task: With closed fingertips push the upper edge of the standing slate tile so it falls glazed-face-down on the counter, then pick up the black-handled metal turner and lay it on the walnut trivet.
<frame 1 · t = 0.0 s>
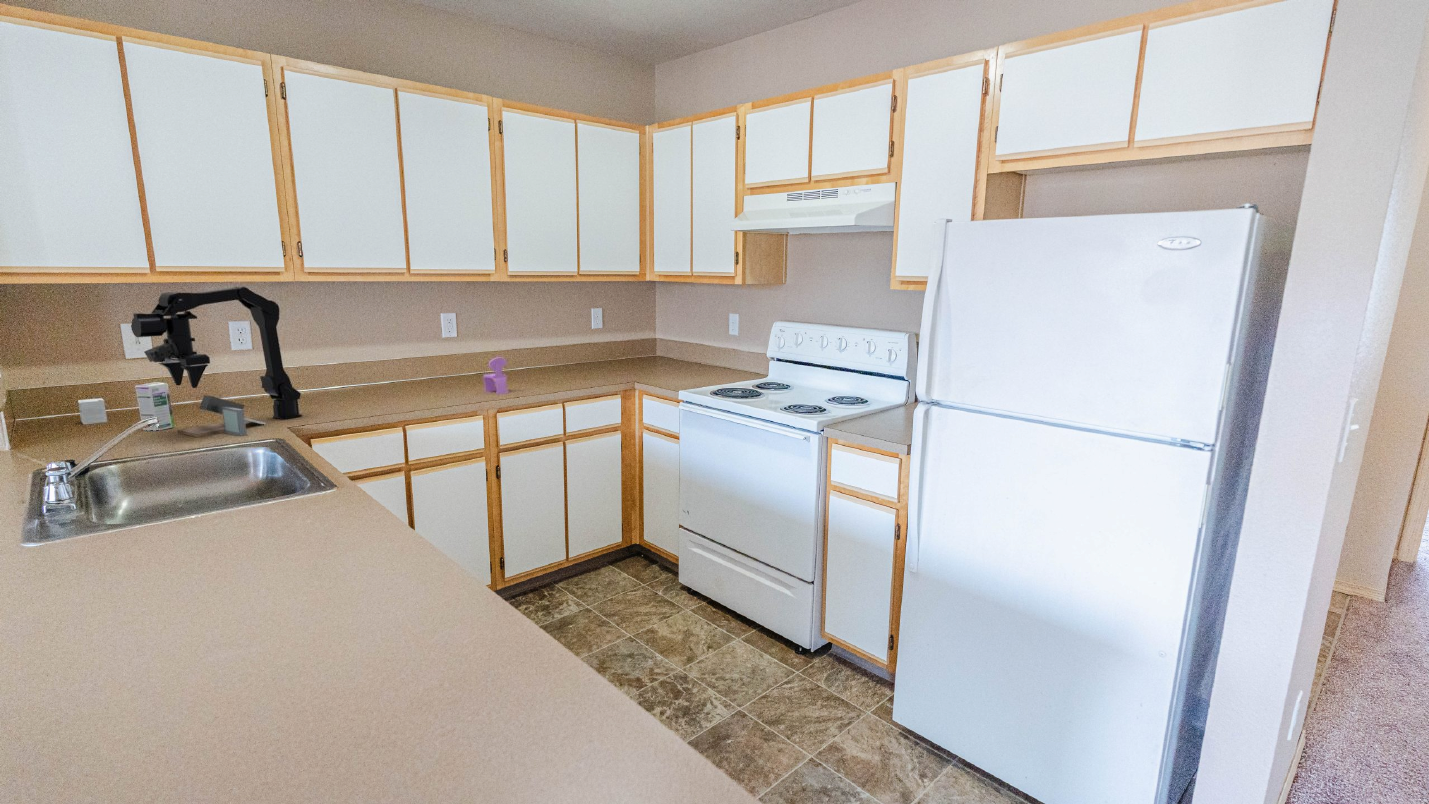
hand: (186, 386, 202), 15 cm above the counter, tool pointing down, fingers open, 9 cm apart
trivet: (208, 431, 208), on the counter
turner: (219, 413, 209), point 5 cm above the counter, tilted 26°
tile: (235, 434, 205), on the counter
syrup box: (158, 429, 211), on the counter
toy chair: (496, 392, 280), on the counter
skincare box: (94, 422, 221), on the counter
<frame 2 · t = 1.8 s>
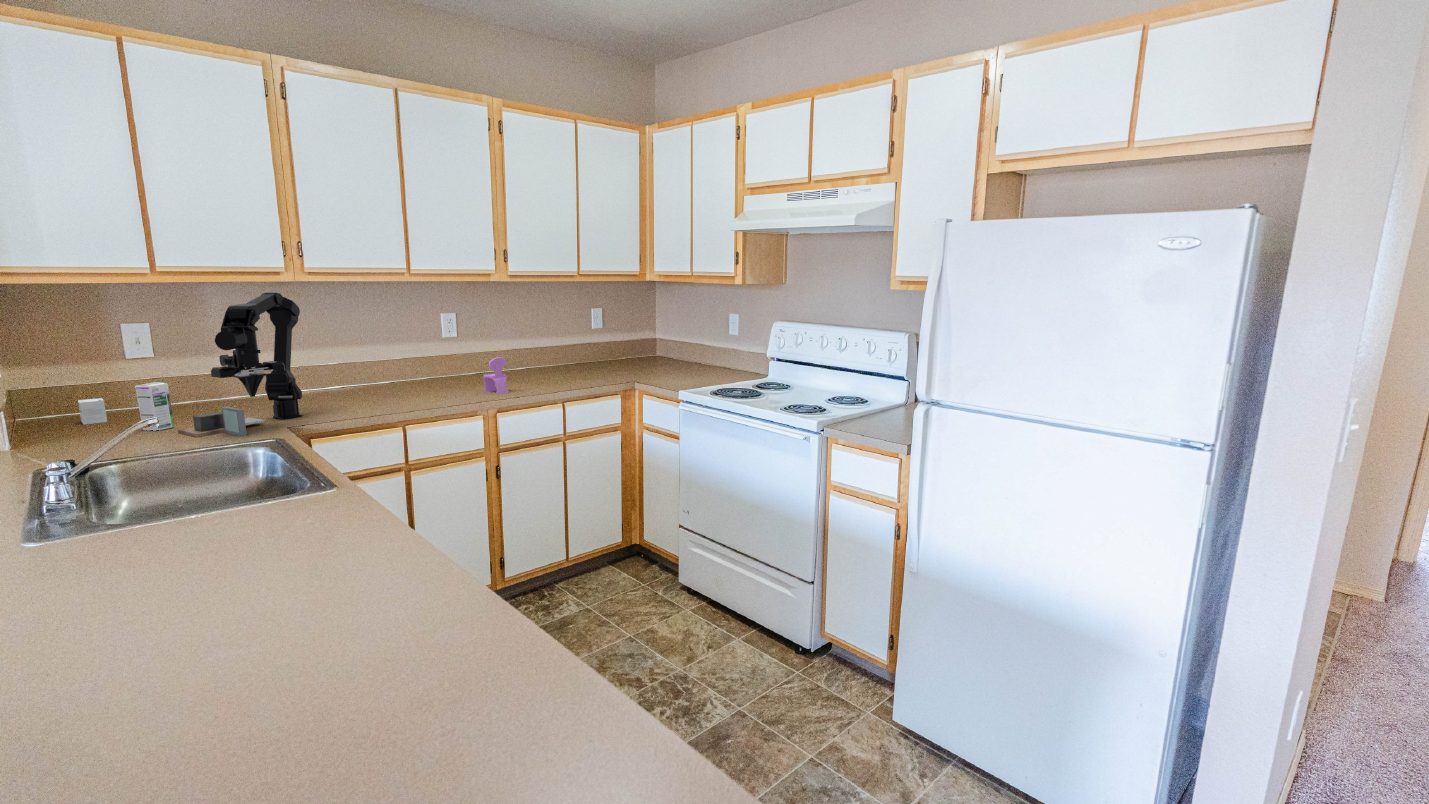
hand: (252, 396, 209), 11 cm above the counter, tool pointing down, fingers closed
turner: (216, 427, 209), point 1 cm above the counter, touching trivet
everything else where it was.
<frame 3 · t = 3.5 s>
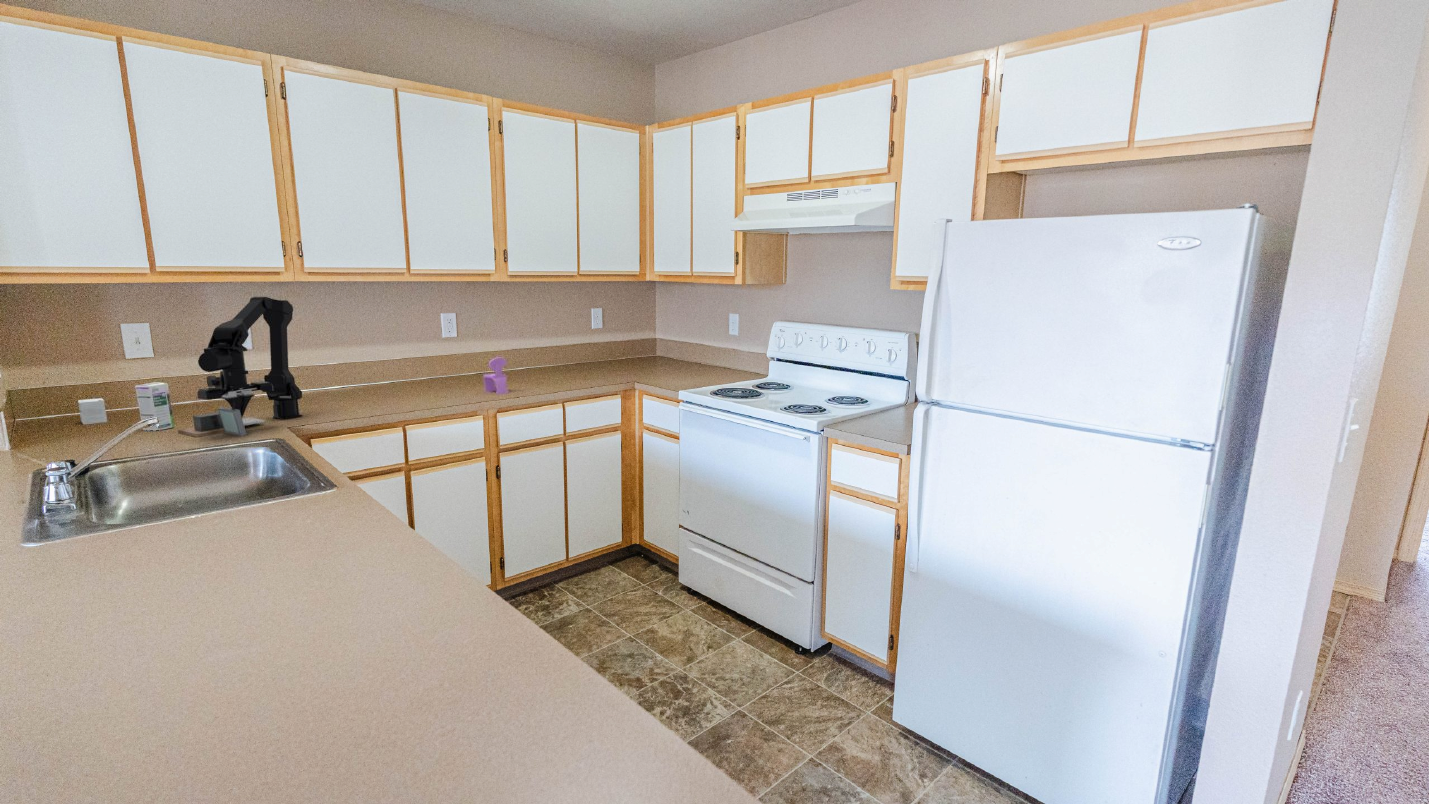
hand: (240, 417, 206), 5 cm above the counter, tool pointing down, fingers closed
tile: (235, 433, 205), on the counter, tilted 8°, touching gripper
everything else where it was.
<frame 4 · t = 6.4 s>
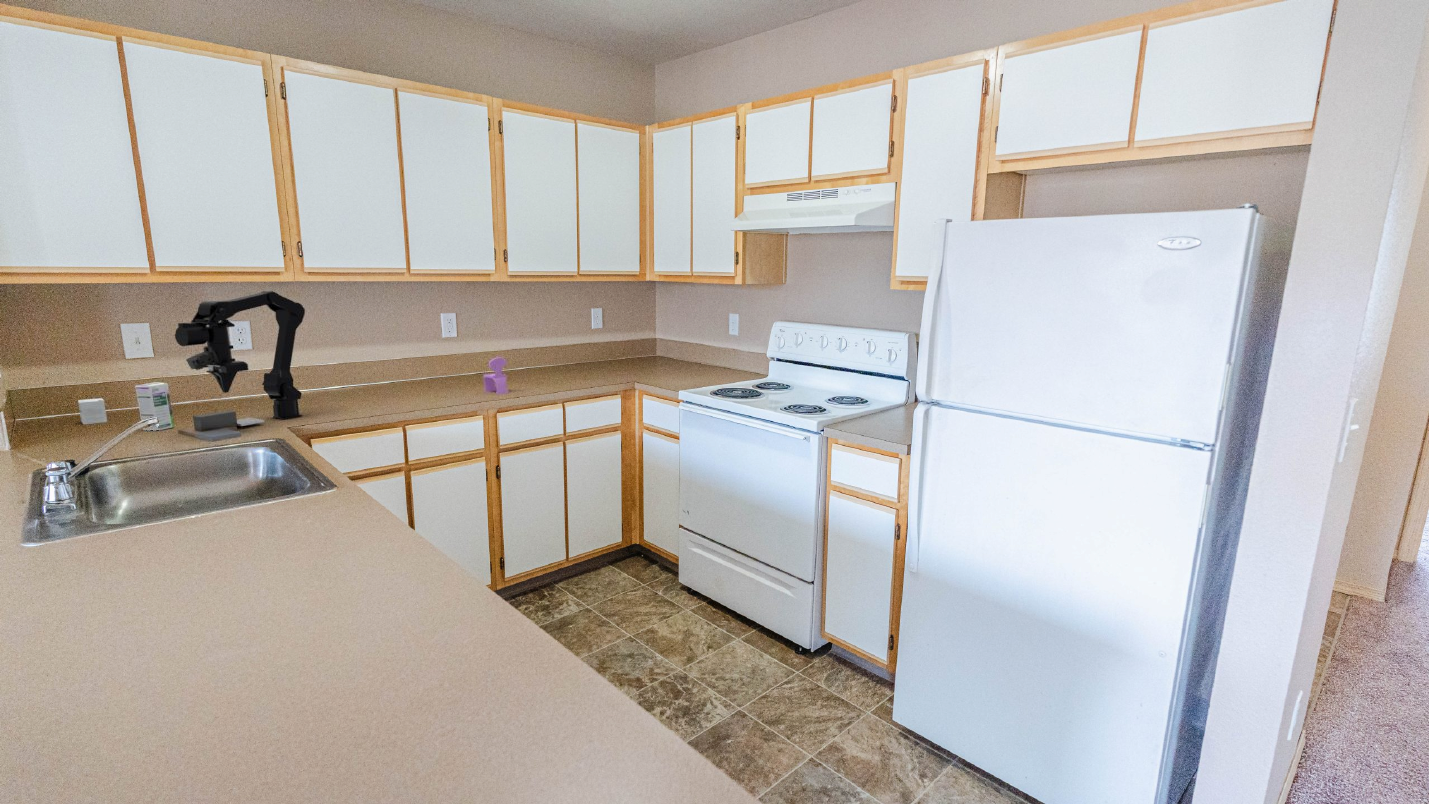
hand: (225, 392, 209), 12 cm above the counter, tool pointing down, fingers closed
tile: (232, 432, 205), on the counter, tilted 90°
everything else where it was.
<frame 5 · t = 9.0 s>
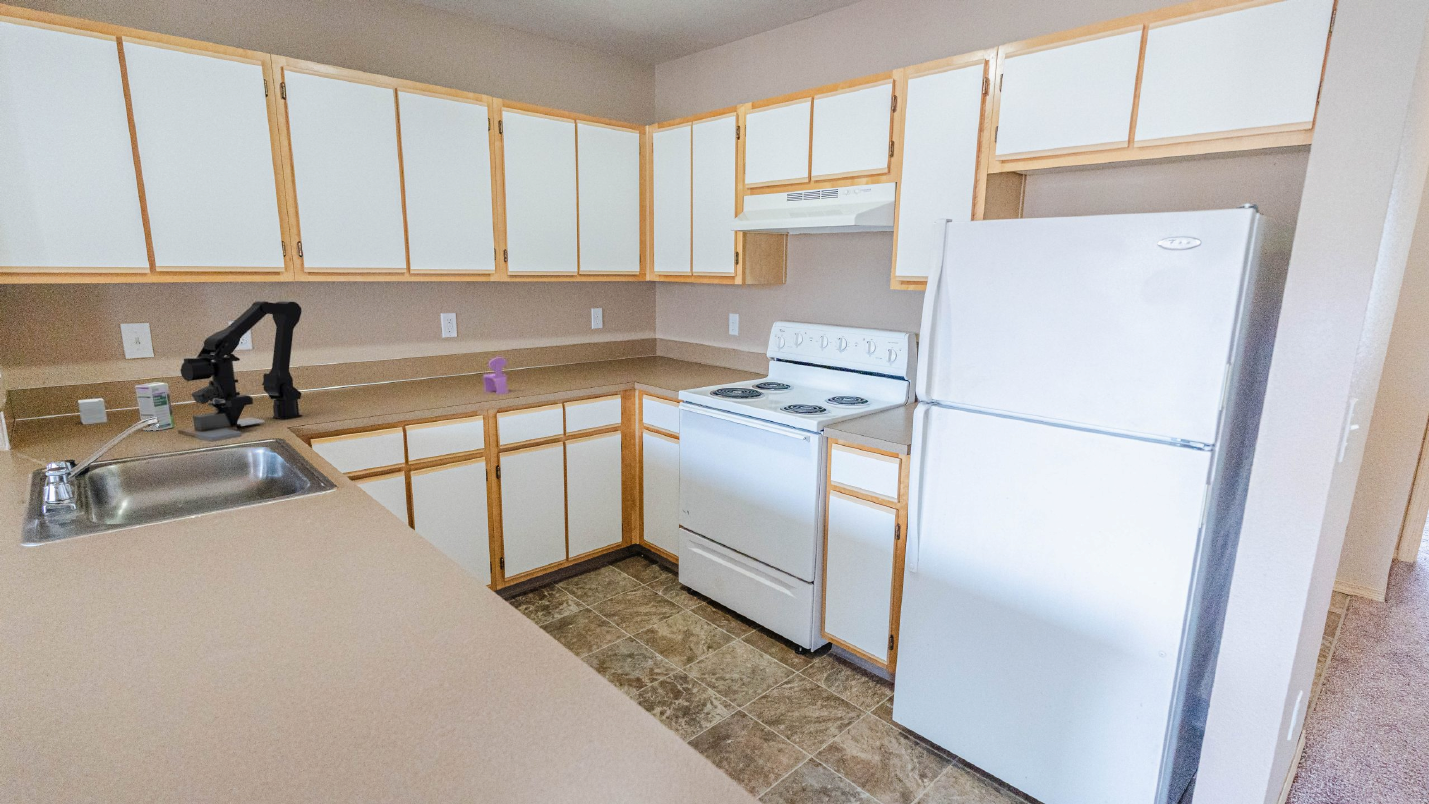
hand: (229, 425, 212), 1 cm above the counter, tool pointing down, fingers closed on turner, 4 cm apart
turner: (216, 427, 209), point 1 cm above the counter, touching gripper, trivet
everything else where it was.
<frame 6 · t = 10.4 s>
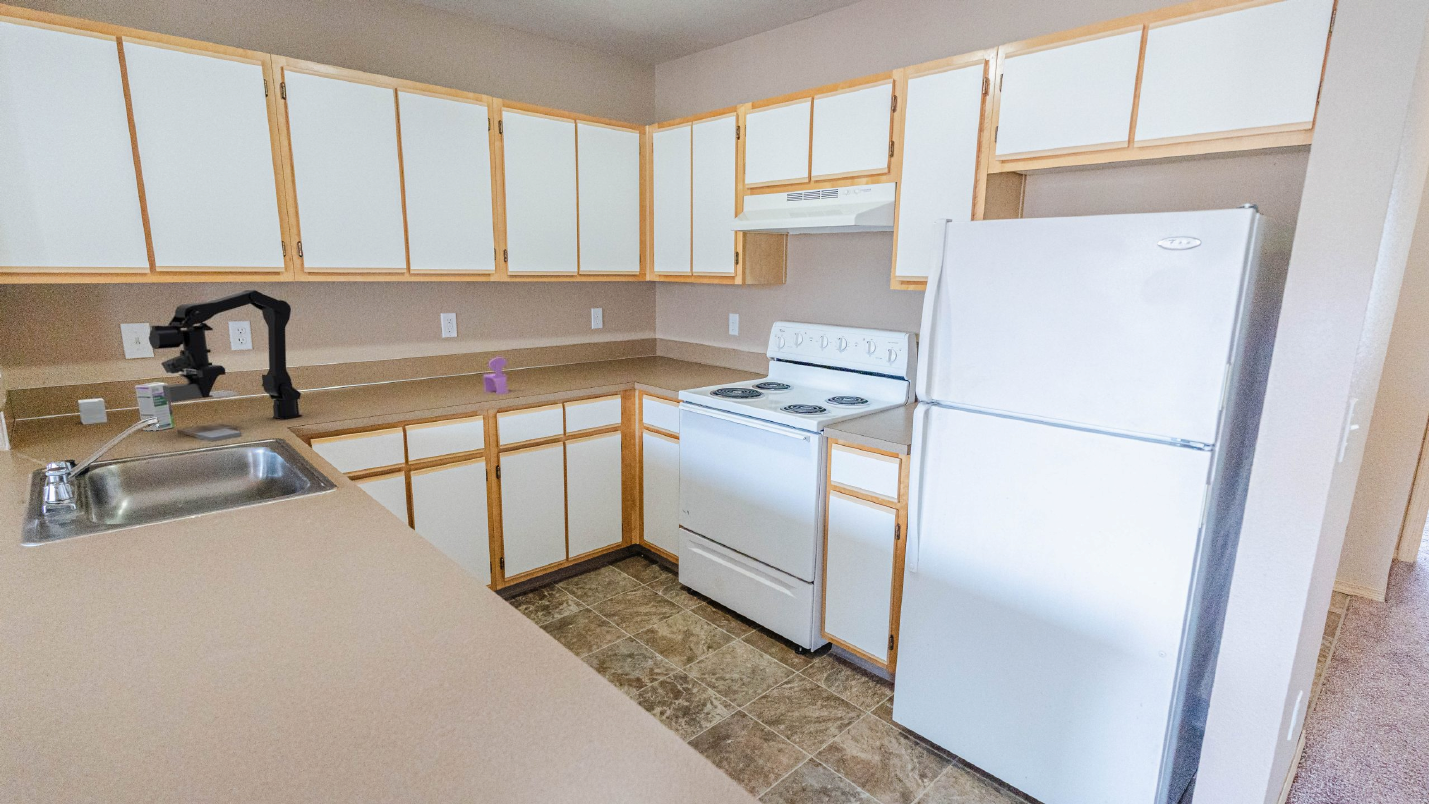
hand: (201, 397, 206), 11 cm above the counter, tool pointing down, fingers closed on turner, 4 cm apart
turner: (187, 398, 202), point 11 cm above the counter, touching gripper
everything else where it was.
when the fingers open (3 cm above the counter, at t = 12.0 s): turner drops 2 cm, resting on trivet.
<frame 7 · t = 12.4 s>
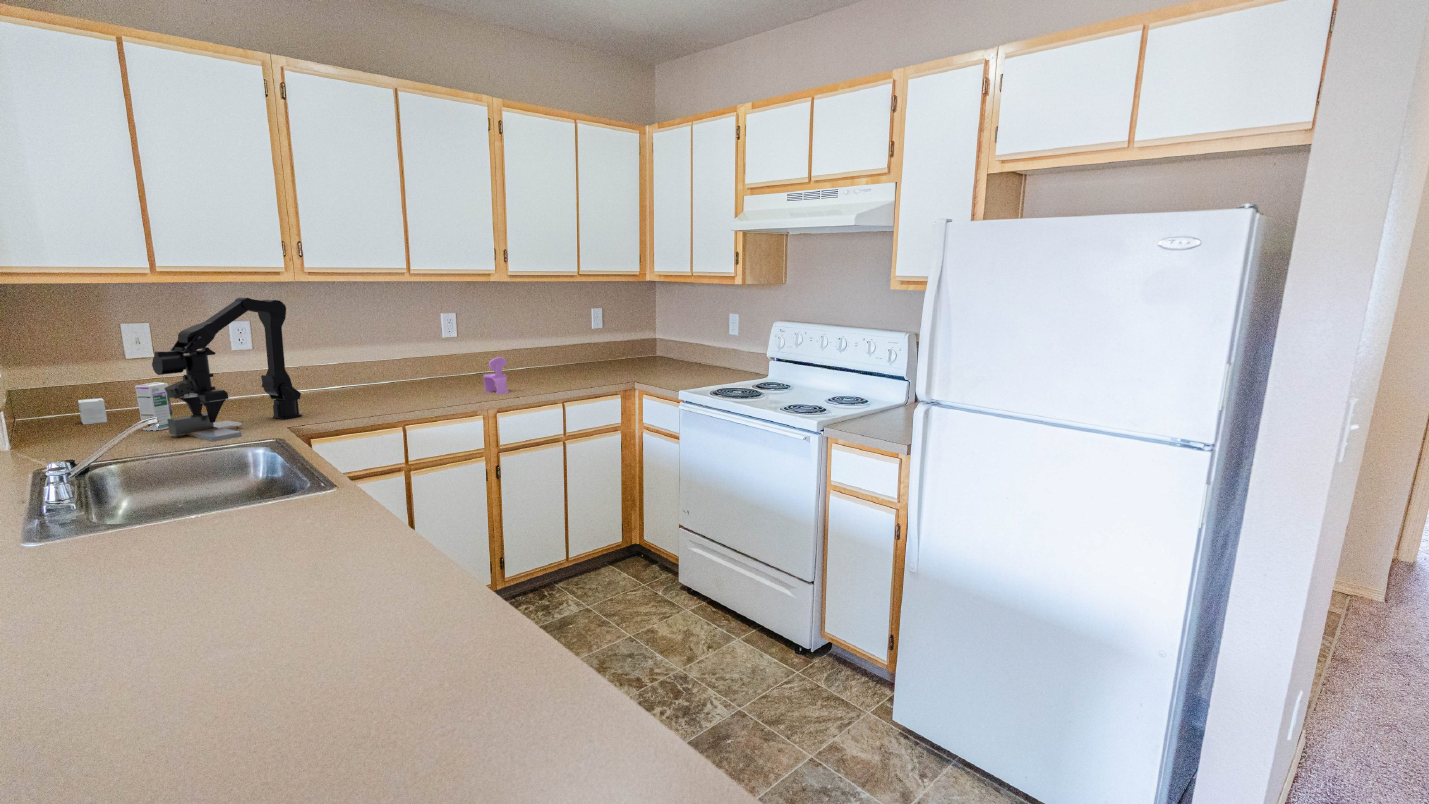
hand: (204, 420, 207), 3 cm above the counter, tool pointing down, fingers open, 8 cm apart
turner: (192, 431, 204), point 1 cm above the counter, touching trivet
everything else where it was.
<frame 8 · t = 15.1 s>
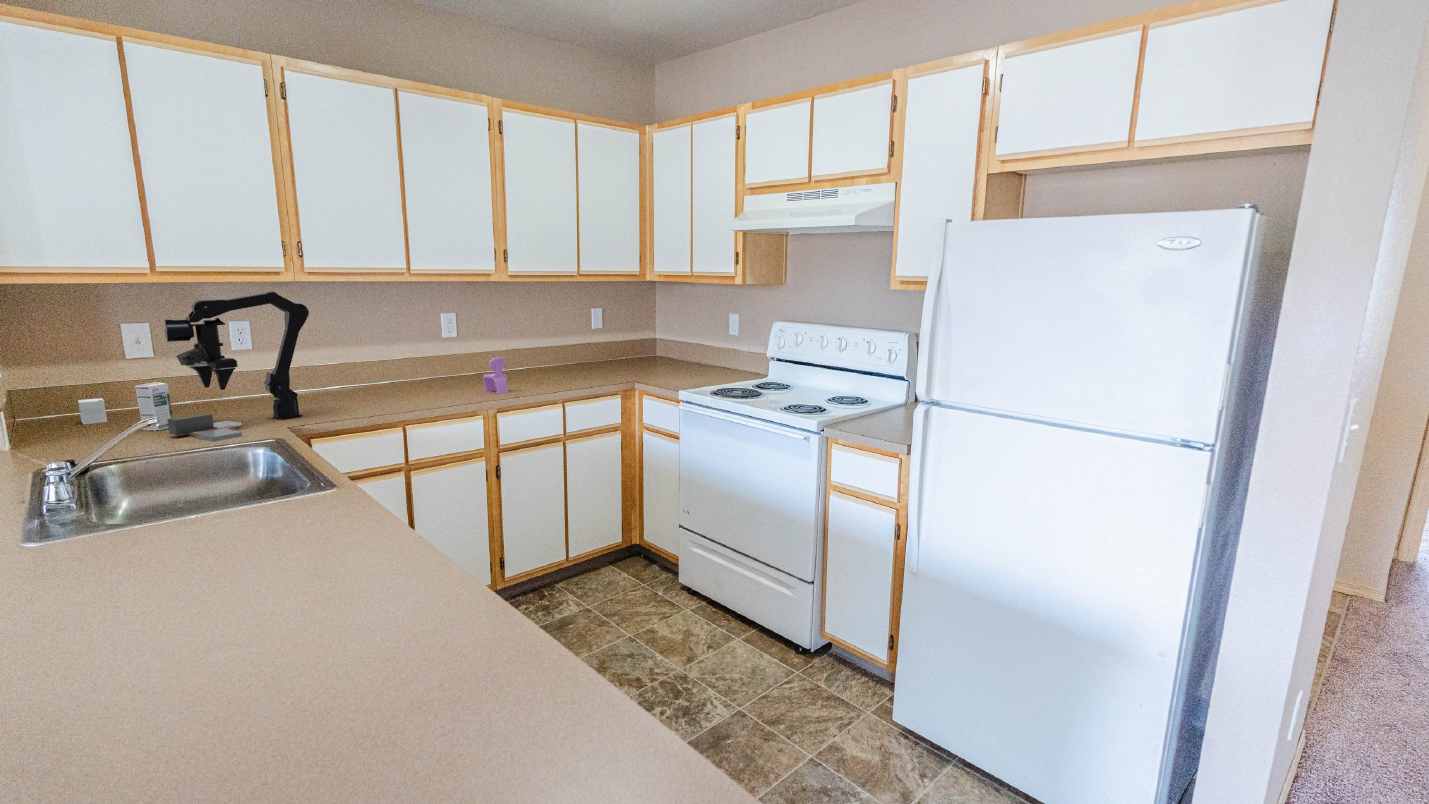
hand: (214, 388, 214), 12 cm above the counter, tool pointing down, fingers open, 9 cm apart
nothing on the counter moved.
at the end: tile tilted 90°; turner inside the target area on the trivet (4.2 cm from its centre), point 1.0 cm above the trivet's base; the gripper is holding nothing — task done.
